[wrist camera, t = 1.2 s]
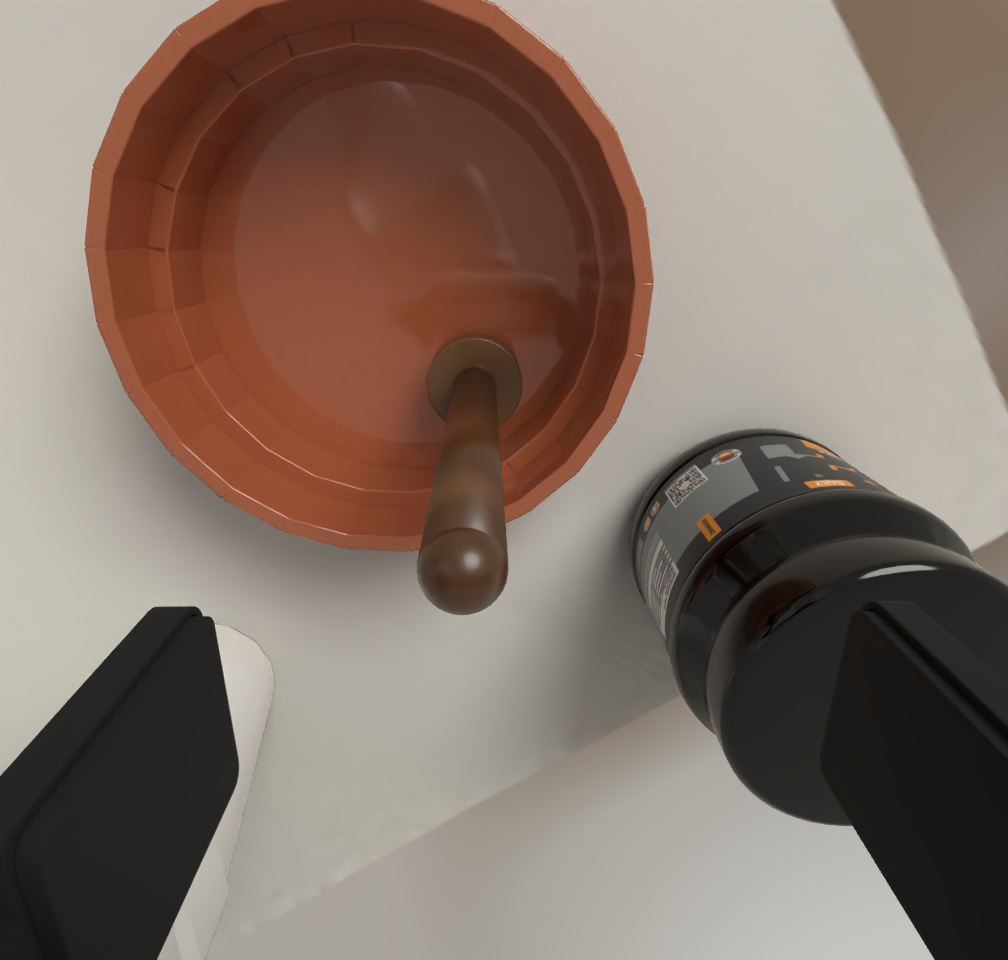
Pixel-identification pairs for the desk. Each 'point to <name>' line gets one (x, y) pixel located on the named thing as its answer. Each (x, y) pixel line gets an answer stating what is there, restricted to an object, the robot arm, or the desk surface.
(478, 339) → the flanged wooden peg
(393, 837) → the desk surface
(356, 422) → the bowl
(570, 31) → the desk surface
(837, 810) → the supplement container
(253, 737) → the foam cup
